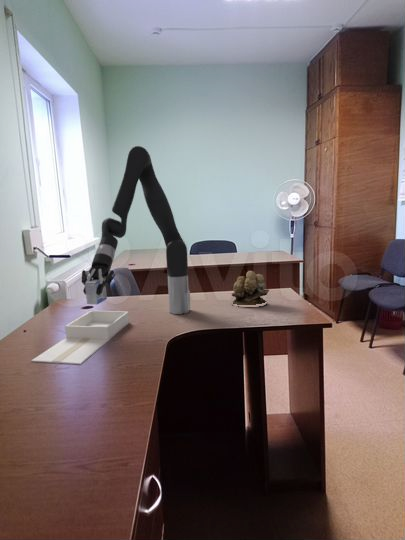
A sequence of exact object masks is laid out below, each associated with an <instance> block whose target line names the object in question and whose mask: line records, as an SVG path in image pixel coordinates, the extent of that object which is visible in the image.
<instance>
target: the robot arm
mask: <svg viewBox="0 0 405 540" xmlns="http://www.w3.org/2000/svg"><path fill="white" fill-rule="evenodd" d="M139 181H140V185H141V188H142V192H143V196H144V197H143V198H144V200H145V203H146V206H147V208H148V211H149V213H150V215H151V217H152V220H153V221H154V222H155V224H156V226H157V228H158V229H159V231H160V233H161V235H162V238H163V240H164V244H165V247H166V248H165V258H166V271H167V288H168V290H167V291H168V305H169V307H168V308H169V313H170V314H172V315H183V313H184V314H189V312H190V311H191V310H190V309H191V292H190V289H189V288H190V287H189V267H188V266H189V265H188V248H187V245H186V243H185V241H184V239H183V238H182V236H181V234H180V232H179V230H178V227H177V225H176V224H177V223H176V221H175V218H174V213H173V211H172V208H171V204H170V203H169V200H168V197H167V195H166V194H165V191H164V189H163V188H162V185H161V184H160V182H159V180H158V178H157V175H156V173H155V169H154V166H153V163H152V159H151V155H150V153H149V151H148V150H147V149H146V148H145V147H143V146H140V145H136V146H133V147H132V148H130V150H129V151H128V154H127V158H126V163H125V169H124V173H123V177H122V181H121V183H120V186H119V189H118V192H117V194H116V197H115V200H114V203H113V206H112V208H111V211H112V213H113V214H114V215H116V216H118V217H119V218H120V220H118V219H115V218H112V217H106V218H104V219H103V221H102V223H101V238H100V241H99V243H98V247H97V248H96V251H95V254H94V257H93V259H92V261H91V267H90V268H89V269H88V270H85V269H83V270H82V271H81V283H82V285H83V286H84V288H83V290H82V291H83V294H84V295H85V296H86V290H85V283H87V282H89V281H92V280H96V279H99V282H100V284H99V285H98V288H97V291H96V294H97V295H100V294H101V293H102V291H103V288H104V287H105V286H107V287H109V286H110V285H111V283H112V282H113V280H114V279H115V277H116V272H115V271H114V270H111V269H112V265H113V262H114V259H115V255H116V251H117V246H118V245H119V241H118V239H121V238H123V237H124V236H125V235H126V233H127V222H128V216H129V213H130V211H131V210H130V209H131V208H132V207H131V206H132V204H133V202H134V197H135V193H136V189H137V185H138V182H139ZM117 238H118V239H117ZM189 310H190V311H189Z"/></svg>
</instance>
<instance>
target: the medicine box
mask: <svg viewBox="0 0 405 540" xmlns="http://www.w3.org/2000/svg"><path fill="white" fill-rule="evenodd" d="M99 284H100V282H99V279H96V280H92V281H89V282H87V283H85V285H84V287H85V290H86V295H85V299H86V304H87V305H99V304H101V303H103V302H104V301H106V300H107V299H108V297H107V287H106V286H105V287H104V288H103V291H102V293H101V294H100V295H97V294H96V291H97V288H98V285H99Z"/></svg>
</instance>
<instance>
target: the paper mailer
mask: <svg viewBox="0 0 405 540" xmlns="http://www.w3.org/2000/svg"><path fill="white" fill-rule="evenodd" d="M129 324H130V312H129V311H123V310H121V311H118V310H117V311H116V310H89V311H88V312H87V313H85V314H82V315H81V316H79V317H78V318H76V319H74V320H73V321H71V322H69V323H67V324H66V325H65V326H64V329H65V338H64V339H62V340H61V341H58V342H57V343H56V344H54V345H53V346H51V347H50V348H49V349H46V350H45V351H44V352H42V353H40V354H39V355H38V356H36V357H34V358H33V359H31V362H33V363H50V364H65V365H67V364H68V365H70V364H71V365H82V364H84V362H85V361H86V360H88V359H89V358H90V357H91V356H93V355H94V354H95V353H96V352H97V351H99V349H101V348H102V347H103V346H104V345H105V344H107V343H108V342H109V341H110V340H111V339H112V338H113V337H116V335H117V334H118V333H120V332H121V331H122V330H123V329H124V328H126V326H129Z"/></svg>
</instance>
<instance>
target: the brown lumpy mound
mask: <svg viewBox="0 0 405 540" xmlns="http://www.w3.org/2000/svg"><path fill="white" fill-rule="evenodd" d="M265 288H266V283H265V277H264V275H263V274H260V273H257V274H256V272H255V271H253V270H248V271H247V272H246V275H245V276H241V275H240V276H238V277H237V279H236V281H235V283H234V284H233V293H231V296H232V297H234V298H235V299H233V301H232V302H233V304H237V305H256V304H262V303H265V302H267V301H266V300H265V299H264V298H263V296H267V295H268V293H269V292H270V289H267V288H266V289H265Z"/></svg>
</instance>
